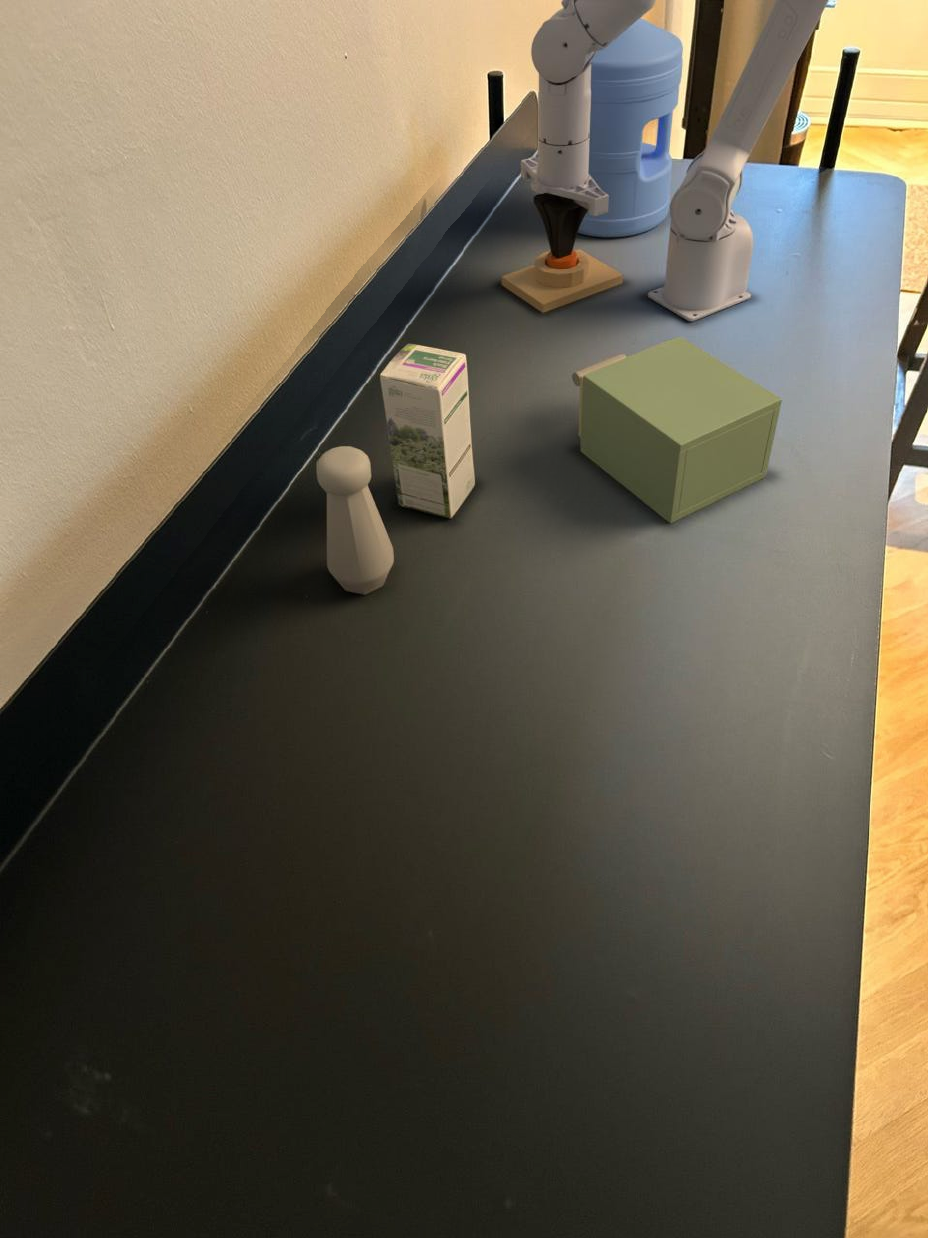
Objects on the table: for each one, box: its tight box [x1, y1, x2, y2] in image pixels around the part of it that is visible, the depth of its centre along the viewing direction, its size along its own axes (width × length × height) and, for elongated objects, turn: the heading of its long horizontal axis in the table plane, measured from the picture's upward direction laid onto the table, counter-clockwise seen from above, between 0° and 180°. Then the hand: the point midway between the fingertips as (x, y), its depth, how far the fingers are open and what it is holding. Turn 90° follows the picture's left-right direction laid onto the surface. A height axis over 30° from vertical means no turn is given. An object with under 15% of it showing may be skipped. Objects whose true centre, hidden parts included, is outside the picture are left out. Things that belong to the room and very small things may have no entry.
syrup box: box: [379, 342, 476, 519], centre depth 85 cm, size 6×6×14 cm
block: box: [500, 248, 624, 314], centre depth 117 cm, size 12×9×3 cm
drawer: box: [571, 341, 665, 438], centre depth 91 cm, size 17×10×7 cm, turn 32°
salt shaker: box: [316, 445, 395, 596], centre depth 78 cm, size 6×6×13 cm
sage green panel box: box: [580, 335, 783, 524], centre depth 89 cm, size 14×12×9 cm
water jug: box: [577, 17, 684, 238], centre depth 121 cm, size 16×16×28 cm
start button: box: [547, 249, 577, 269], centre depth 116 cm, size 4×4×2 cm
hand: (561, 254), depth 115 cm, fingers closed, pressing on start button
